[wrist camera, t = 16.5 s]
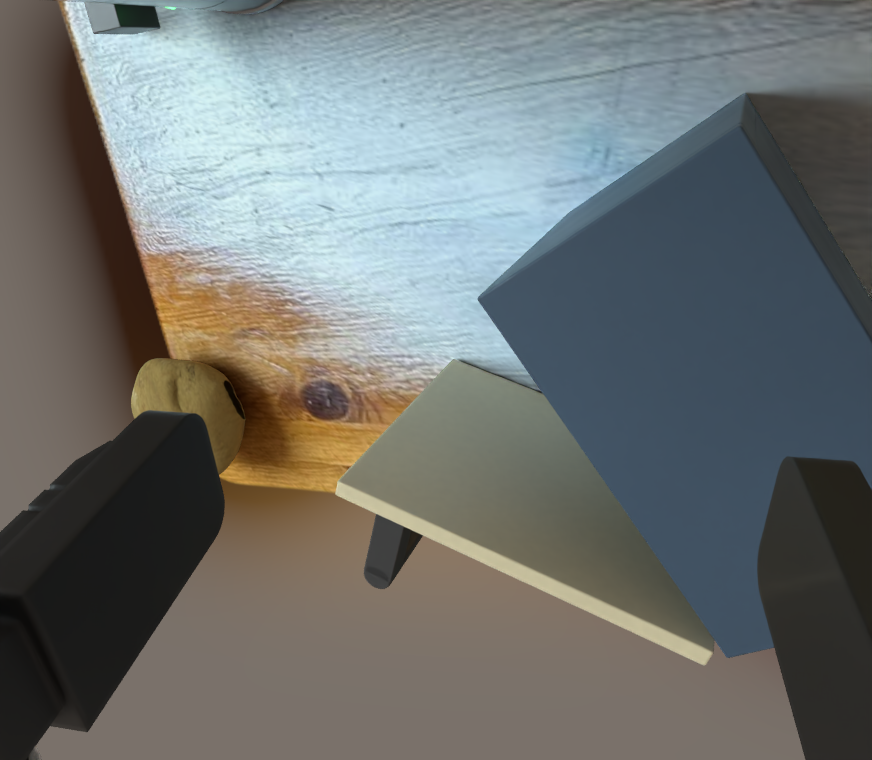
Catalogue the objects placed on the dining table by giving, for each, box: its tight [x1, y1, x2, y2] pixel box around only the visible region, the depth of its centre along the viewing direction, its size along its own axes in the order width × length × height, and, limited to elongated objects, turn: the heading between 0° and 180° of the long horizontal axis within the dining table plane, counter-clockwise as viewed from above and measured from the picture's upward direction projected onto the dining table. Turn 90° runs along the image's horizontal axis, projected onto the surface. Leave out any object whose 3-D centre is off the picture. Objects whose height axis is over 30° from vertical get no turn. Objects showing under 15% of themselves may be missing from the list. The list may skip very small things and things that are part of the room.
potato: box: [131, 358, 246, 474], centre depth 47 cm, size 7×8×8 cm
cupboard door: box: [336, 359, 714, 665], centre depth 34 cm, size 6×16×13 cm, turn 77°
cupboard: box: [478, 93, 872, 658], centre depth 27 cm, size 9×16×14 cm, turn 39°
